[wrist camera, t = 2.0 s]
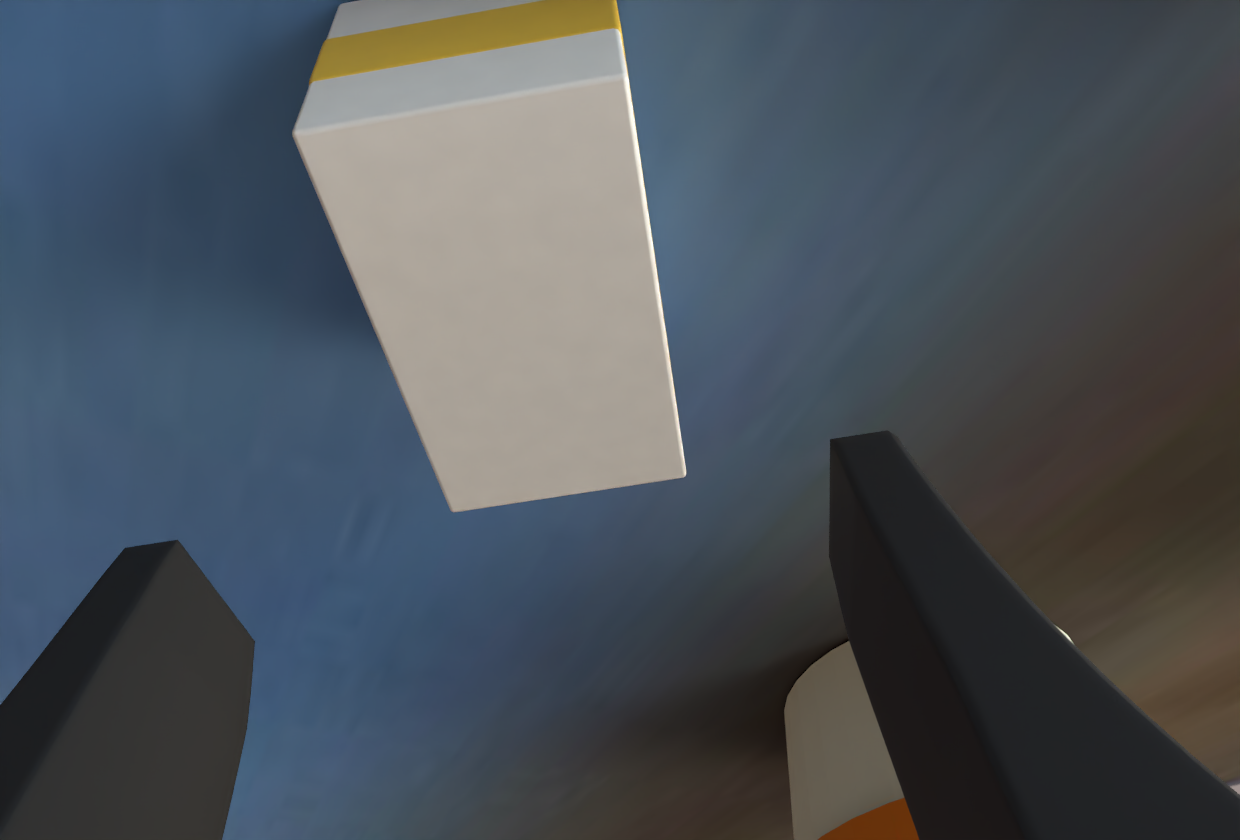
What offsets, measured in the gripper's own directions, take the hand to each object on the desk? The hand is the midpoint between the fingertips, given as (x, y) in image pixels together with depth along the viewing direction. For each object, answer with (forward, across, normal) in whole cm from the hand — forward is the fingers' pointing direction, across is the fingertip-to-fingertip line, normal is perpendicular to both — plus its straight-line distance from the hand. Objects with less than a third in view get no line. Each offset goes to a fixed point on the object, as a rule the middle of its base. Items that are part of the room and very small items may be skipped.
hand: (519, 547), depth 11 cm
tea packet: (+8, 0, 0) cm, 8 cm away
